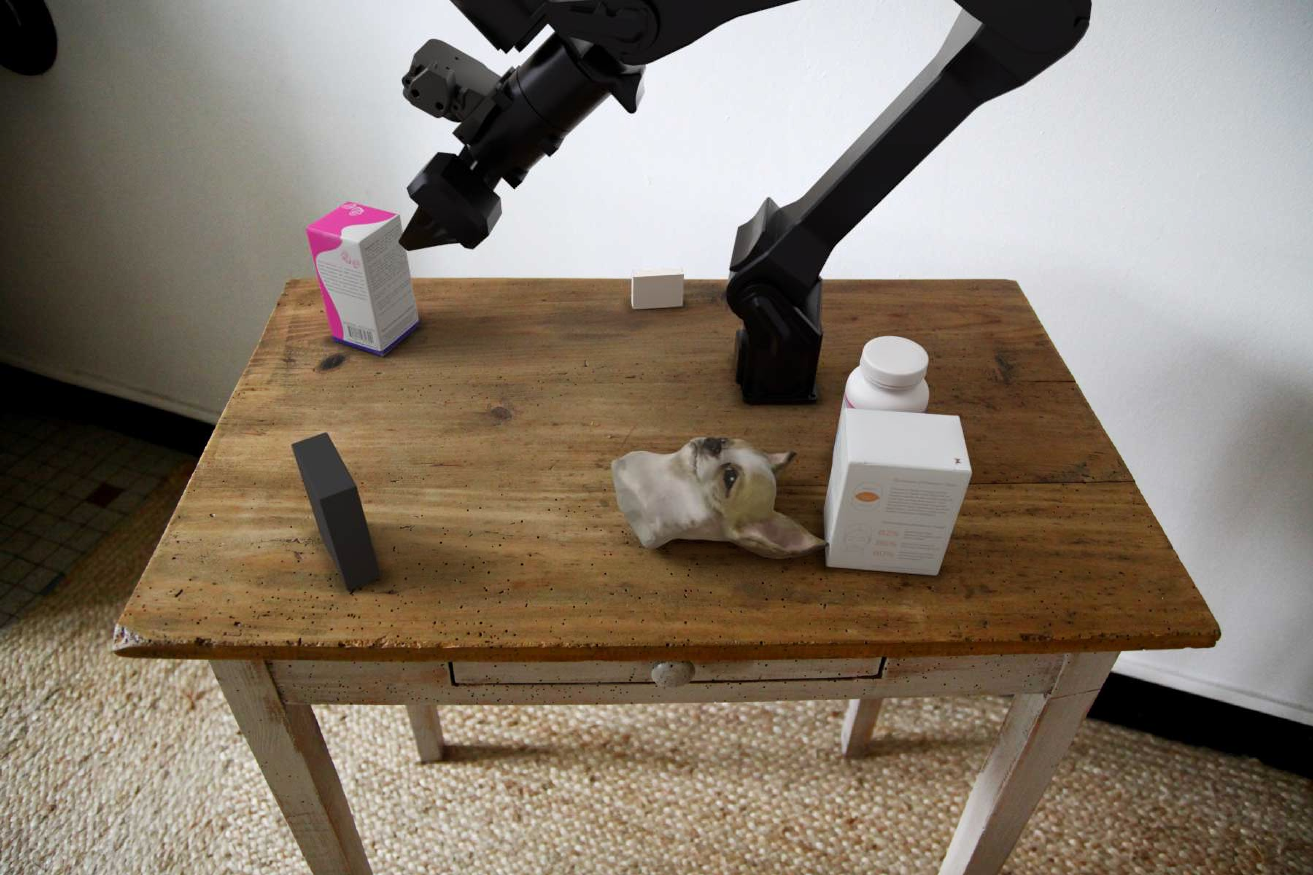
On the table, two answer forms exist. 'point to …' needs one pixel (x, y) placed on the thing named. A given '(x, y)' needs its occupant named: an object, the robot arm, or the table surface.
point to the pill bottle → (888, 378)
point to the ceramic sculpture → (710, 497)
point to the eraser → (657, 288)
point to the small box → (894, 490)
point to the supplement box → (364, 277)
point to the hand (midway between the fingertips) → (423, 217)
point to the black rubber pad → (337, 510)
